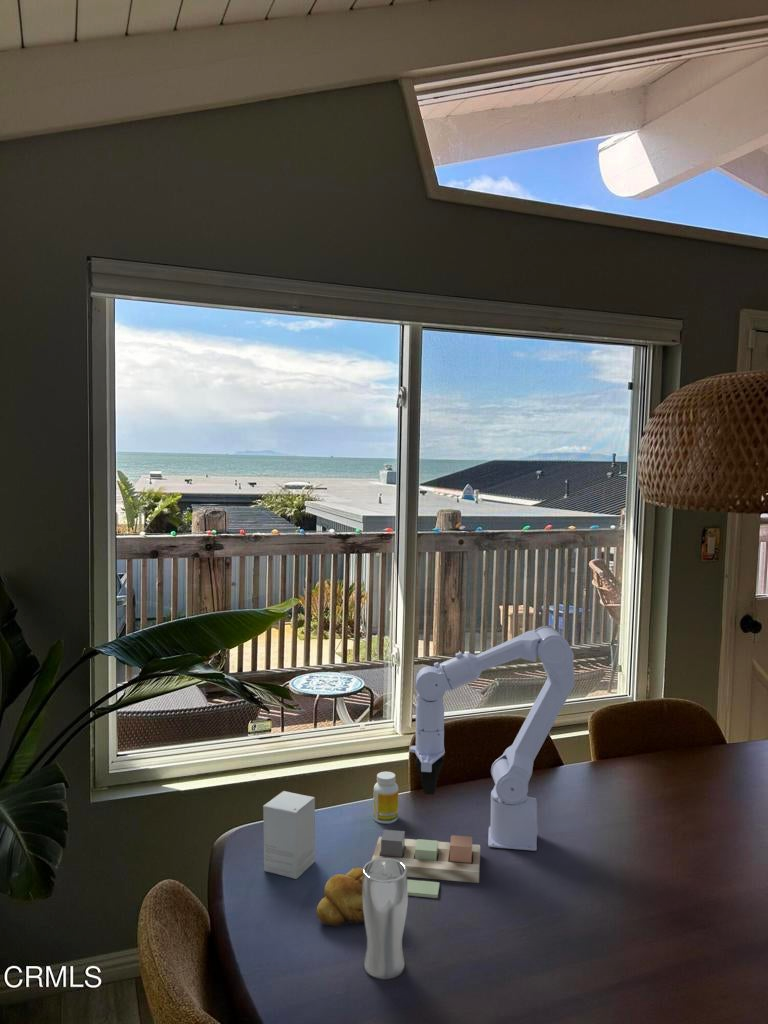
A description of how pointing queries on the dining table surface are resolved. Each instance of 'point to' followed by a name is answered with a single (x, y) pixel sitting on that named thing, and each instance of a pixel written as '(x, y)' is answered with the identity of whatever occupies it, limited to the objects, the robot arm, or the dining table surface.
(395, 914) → the beer glass
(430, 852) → the key sage
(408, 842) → the key console
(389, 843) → the key charcoal
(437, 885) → the tile
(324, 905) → the bread roll
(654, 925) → the dining table surface
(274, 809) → the supplement box
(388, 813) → the supplement bottle
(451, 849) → the key terracotta
